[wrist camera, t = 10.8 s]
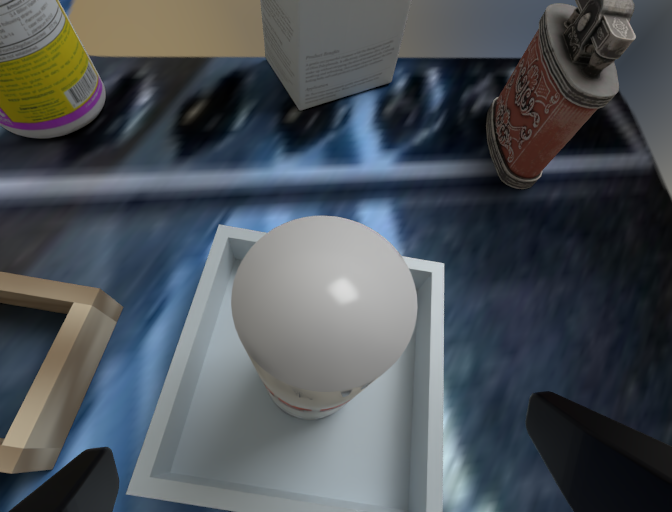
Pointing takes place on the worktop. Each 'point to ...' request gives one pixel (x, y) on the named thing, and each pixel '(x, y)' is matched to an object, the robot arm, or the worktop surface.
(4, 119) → the supplement bottle
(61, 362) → the holder
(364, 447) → the tray
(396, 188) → the worktop surface
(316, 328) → the white domed canister
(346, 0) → the skincare box
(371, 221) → the worktop surface
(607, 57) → the lighter
